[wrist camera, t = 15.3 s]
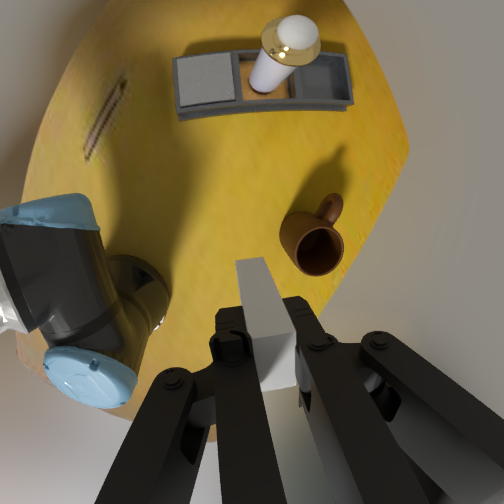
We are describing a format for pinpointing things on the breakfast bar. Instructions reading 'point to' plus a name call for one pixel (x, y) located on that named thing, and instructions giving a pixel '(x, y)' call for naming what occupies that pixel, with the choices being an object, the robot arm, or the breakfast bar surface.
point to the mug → (314, 238)
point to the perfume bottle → (284, 51)
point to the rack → (245, 96)
